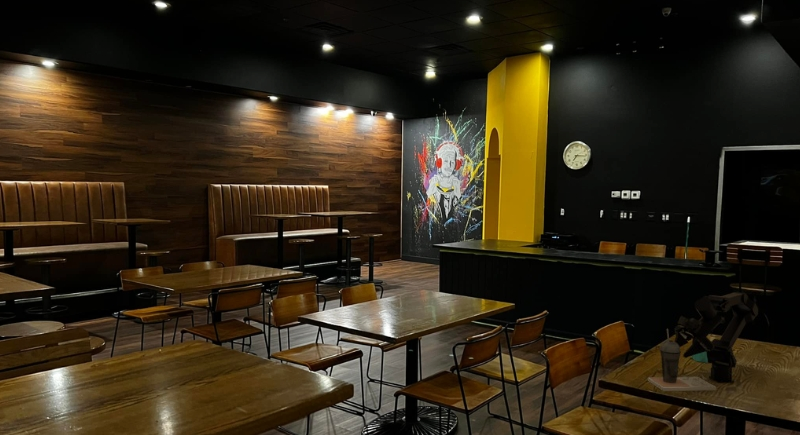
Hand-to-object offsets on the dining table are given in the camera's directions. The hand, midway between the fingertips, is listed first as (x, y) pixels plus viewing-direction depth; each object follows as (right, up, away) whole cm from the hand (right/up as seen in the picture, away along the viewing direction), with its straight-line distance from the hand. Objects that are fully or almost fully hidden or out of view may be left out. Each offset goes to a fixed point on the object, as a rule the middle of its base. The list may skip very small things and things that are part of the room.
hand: (677, 353), depth 219 cm
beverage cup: (-3, -11, 0) cm, 11 cm away
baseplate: (+1, -12, 0) cm, 12 cm away
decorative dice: (+28, -11, +34) cm, 45 cm away
